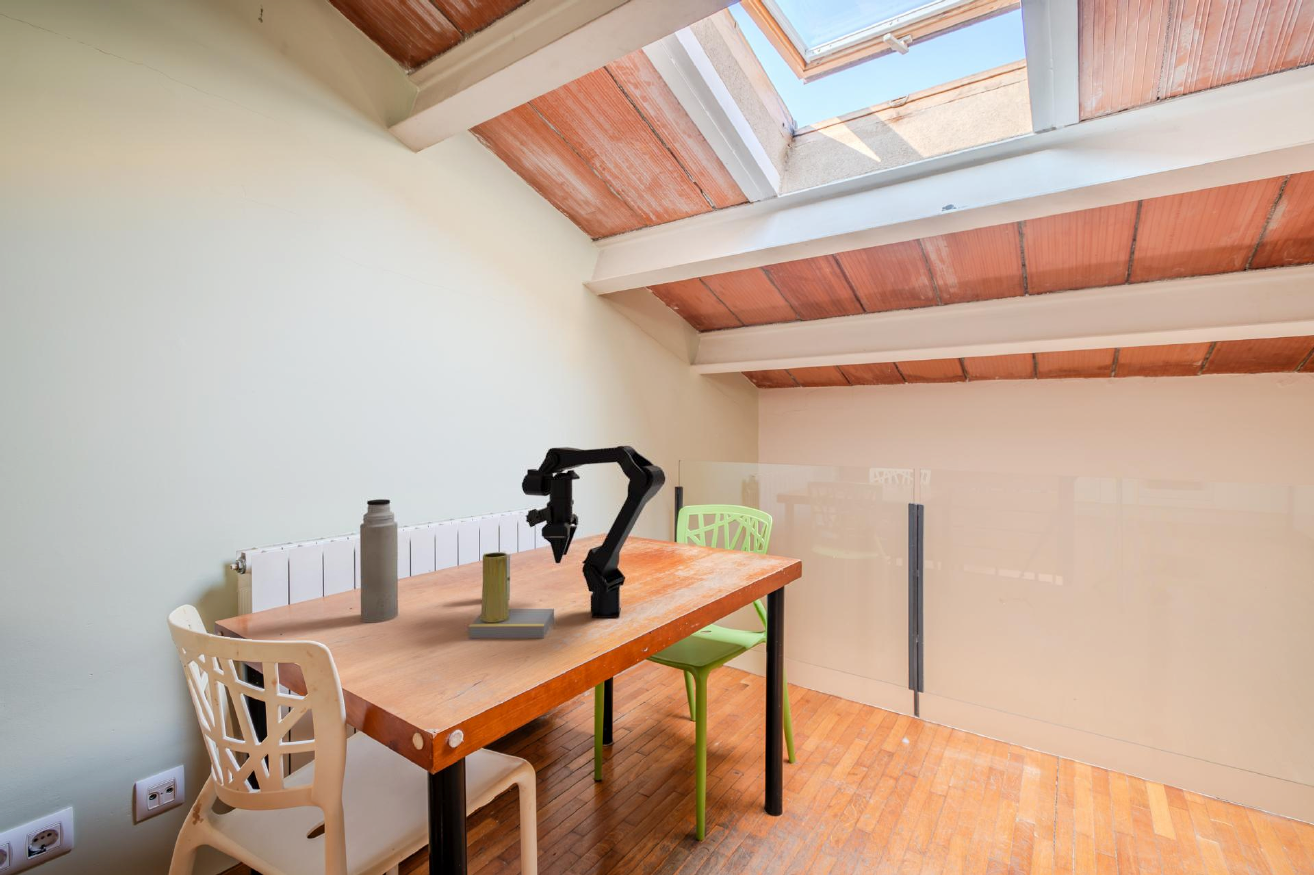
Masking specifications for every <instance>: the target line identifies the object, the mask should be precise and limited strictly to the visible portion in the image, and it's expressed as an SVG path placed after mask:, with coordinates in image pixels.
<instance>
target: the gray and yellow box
mask: <svg viewBox="0 0 1314 875" xmlns="http://www.w3.org/2000/svg"><path fill="white" fill-rule="evenodd" d="M554 621H555V608H509V618H508V619H507V620H505V621H502V622H498V623H486V622H483V621H482V620H481V614H480V615H478V617H477V618H475V620H473V622H472V623H470V624H469V625H468V639H545V636H546V635H547V634H548V631H549V629H550V627H551V625H552V624H553V622H554Z"/></svg>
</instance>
